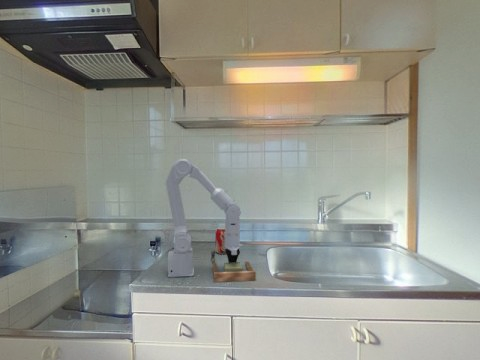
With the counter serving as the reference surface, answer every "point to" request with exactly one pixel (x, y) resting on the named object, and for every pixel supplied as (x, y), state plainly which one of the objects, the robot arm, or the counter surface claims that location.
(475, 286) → the counter surface
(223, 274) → the bay
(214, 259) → the crank handle
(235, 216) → the robot arm
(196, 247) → the counter surface
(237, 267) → the box
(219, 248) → the soda can
